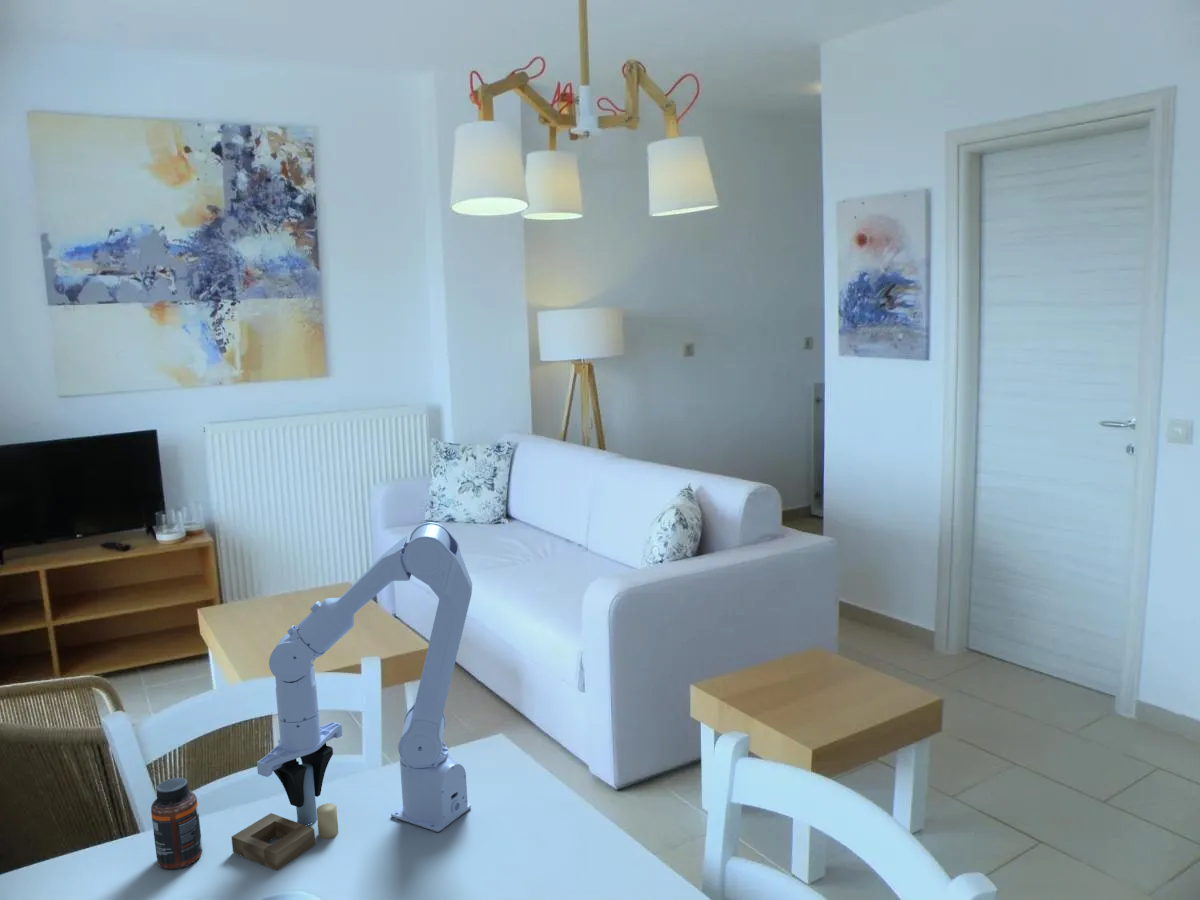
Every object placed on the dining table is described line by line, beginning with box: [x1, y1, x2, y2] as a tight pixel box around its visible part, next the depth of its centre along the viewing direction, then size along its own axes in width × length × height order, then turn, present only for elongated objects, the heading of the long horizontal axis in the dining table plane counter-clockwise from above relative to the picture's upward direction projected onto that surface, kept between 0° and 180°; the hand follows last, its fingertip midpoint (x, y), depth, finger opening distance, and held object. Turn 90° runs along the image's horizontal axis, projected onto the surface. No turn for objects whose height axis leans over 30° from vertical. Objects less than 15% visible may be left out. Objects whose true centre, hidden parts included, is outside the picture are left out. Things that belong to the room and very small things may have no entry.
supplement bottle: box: [150, 777, 203, 870], centre depth 132 cm, size 6×6×11 cm
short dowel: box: [316, 802, 339, 840], centre depth 138 cm, size 3×3×4 cm
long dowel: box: [295, 763, 317, 826], centre depth 141 cm, size 3×3×8 cm
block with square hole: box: [231, 812, 316, 871], centre depth 135 cm, size 9×7×2 cm
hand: (305, 799), depth 141 cm, fingers closed on long dowel, 3 cm apart
